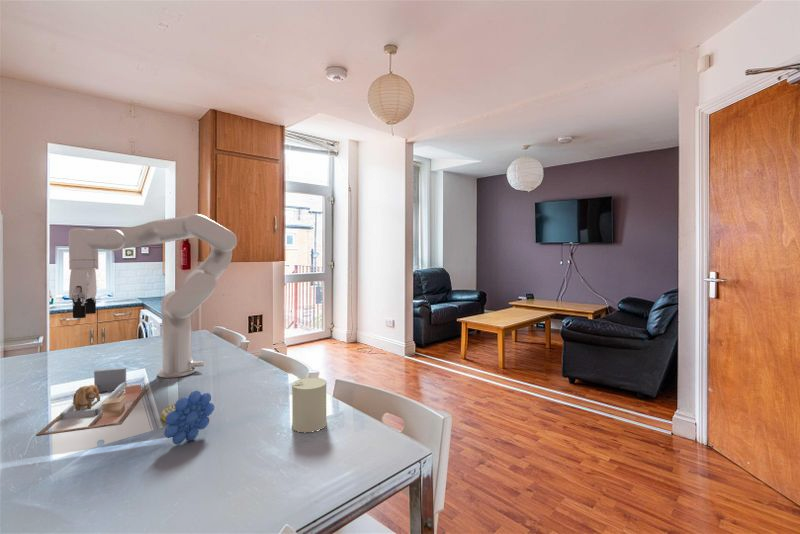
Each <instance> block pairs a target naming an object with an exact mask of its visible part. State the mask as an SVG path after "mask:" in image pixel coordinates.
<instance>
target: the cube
mask: <svg viewBox="0 0 800 534" xmlns="http://www.w3.org/2000/svg"><path fill="white" fill-rule="evenodd" d="M125 406H126V403H125V397H121V396H120V397H119V398H110V399H107V400H106V401H105V402H104V403H103V404H102V409H103V410H102V411H103V416H102V417H103V418H111V417H119V416H121V415H122V414H123V412H124V411H125Z"/></svg>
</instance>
